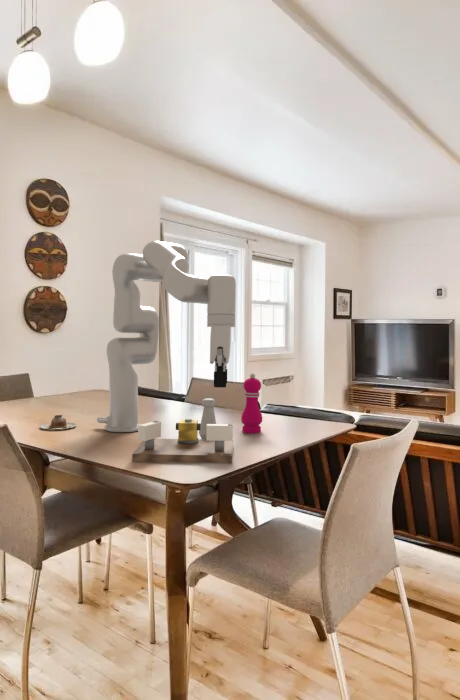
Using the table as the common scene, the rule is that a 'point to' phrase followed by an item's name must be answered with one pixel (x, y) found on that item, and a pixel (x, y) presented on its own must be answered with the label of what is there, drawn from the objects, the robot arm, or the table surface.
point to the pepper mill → (252, 406)
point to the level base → (185, 448)
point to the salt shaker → (207, 416)
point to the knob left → (149, 433)
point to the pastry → (58, 423)
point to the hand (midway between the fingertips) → (220, 385)
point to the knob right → (219, 434)
